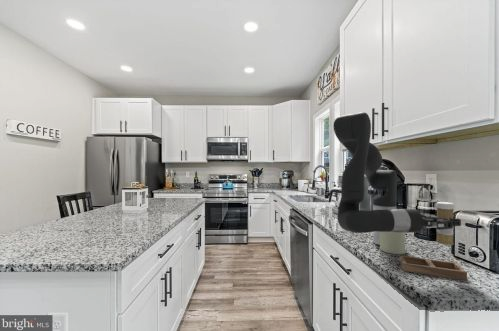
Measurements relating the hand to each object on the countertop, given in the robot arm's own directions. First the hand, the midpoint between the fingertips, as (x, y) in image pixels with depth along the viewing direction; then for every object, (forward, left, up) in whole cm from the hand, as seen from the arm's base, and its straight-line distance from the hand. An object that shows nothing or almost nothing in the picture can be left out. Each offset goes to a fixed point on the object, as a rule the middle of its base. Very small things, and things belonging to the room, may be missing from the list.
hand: (453, 220), depth 80 cm
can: (-17, -15, -17) cm, 28 cm away
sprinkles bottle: (+1, -2, -8) cm, 8 cm away
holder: (+1, -6, -17) cm, 18 cm away
